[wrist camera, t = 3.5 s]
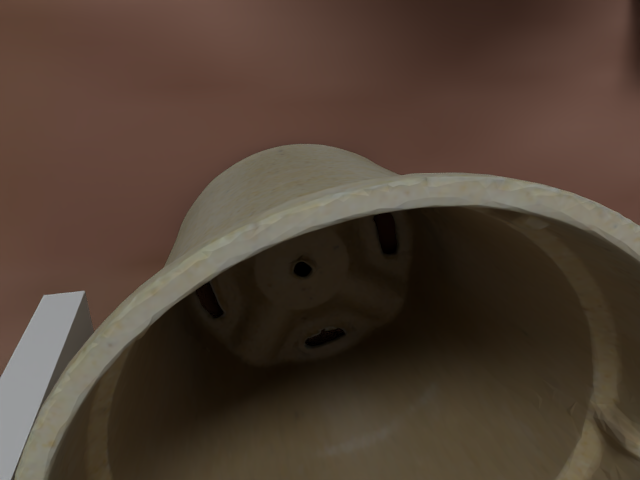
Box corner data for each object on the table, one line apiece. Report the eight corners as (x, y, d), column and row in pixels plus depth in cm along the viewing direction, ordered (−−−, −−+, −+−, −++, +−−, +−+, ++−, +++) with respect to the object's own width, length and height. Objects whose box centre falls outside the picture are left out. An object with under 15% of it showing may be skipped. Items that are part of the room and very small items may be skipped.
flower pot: (536, 262, 17) (832, 495, 9) (286, 467, 18) (355, 835, 10) (323, -17, 13) (509, -38, 5) (24, 262, 14) (-193, 592, 6)
